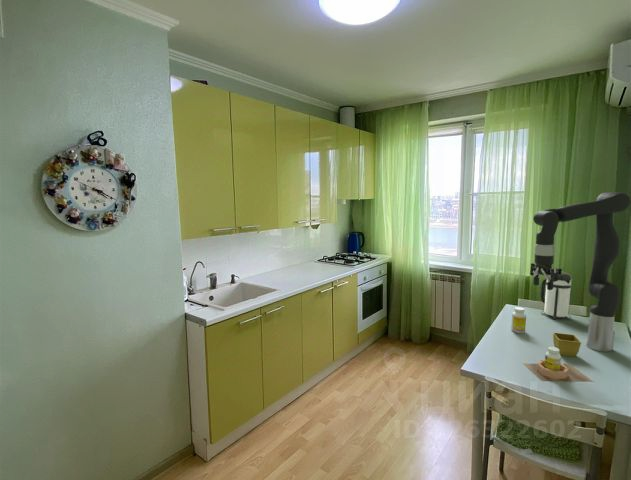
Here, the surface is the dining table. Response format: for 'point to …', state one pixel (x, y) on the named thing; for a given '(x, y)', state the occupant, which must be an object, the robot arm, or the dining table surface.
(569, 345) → the flower pot
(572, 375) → the walnut board
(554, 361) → the supplement bottle
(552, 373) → the octagonal planter bowl
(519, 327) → the supplement bottle
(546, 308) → the coffee press
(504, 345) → the dining table surface
